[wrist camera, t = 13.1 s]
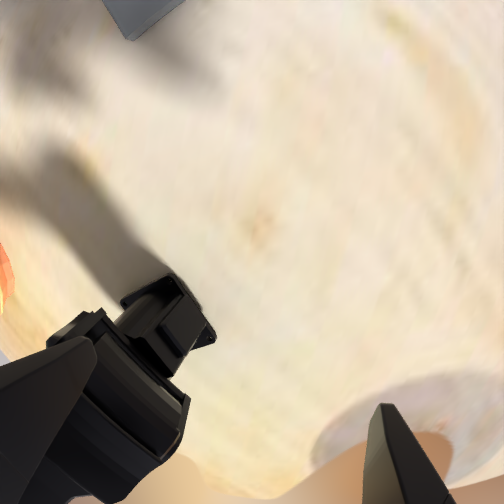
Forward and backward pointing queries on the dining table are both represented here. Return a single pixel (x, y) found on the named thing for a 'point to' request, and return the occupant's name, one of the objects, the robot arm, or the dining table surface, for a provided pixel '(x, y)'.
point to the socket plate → (138, 14)
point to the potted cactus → (5, 278)
